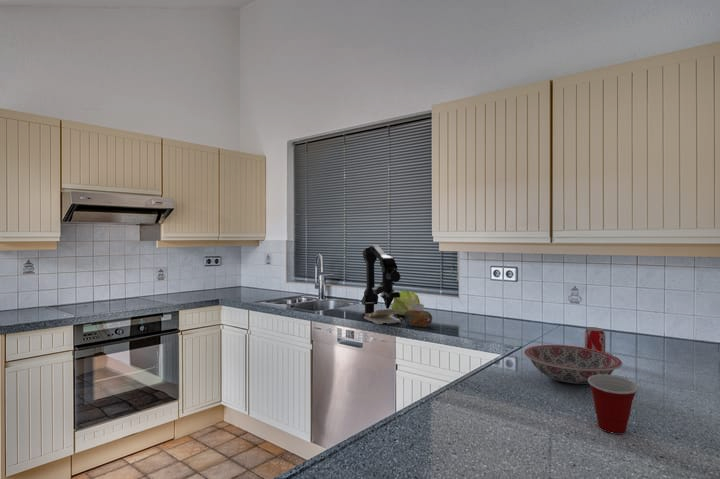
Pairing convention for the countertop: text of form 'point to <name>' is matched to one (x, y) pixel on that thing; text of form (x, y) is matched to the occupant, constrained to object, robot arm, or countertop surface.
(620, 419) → the plastic cup
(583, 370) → the ceramic bowl
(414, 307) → the drinking glass
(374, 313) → the oak plank
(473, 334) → the countertop surface
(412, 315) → the brown rounded block
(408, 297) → the lettuce
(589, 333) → the soda can
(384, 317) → the underlay board
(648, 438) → the countertop surface
